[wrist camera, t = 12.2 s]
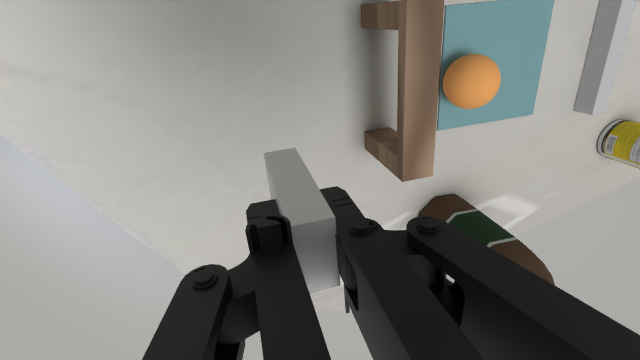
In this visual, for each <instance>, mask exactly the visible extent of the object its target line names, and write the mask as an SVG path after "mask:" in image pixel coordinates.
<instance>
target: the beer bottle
mask: <svg viewBox="0 0 640 360" xmlns="http://www.w3.org/2000/svg"><path fill="white" fill-rule="evenodd" d="M420 216H430V217H435V218H439V219H441V220H443V221H445V222H447V223H449V224H450V225H452V226H454V227H455V228H457V229H459V230H461V231H462V232H464V233H466V234H467V235H469V236H471V237H473V238H474V239H476V240H478V241H479V242H481V243H483V244H485V245H486V246H488V247H490V248H491V249H493V250H495V251H497V252H498V253H500V254H502V255H503V256H505V257H507V258H508V259H510V260H512V261H514V262H515V263H517V264H519V265H520V266H522V267H524V268H526V269H527V270H529V271H531V272H532V273H534V274H536V275H538V276H539V277H541V278H543V279H544V280H546V281H548V282H549V283H551V284H553V285H554V281H553V278H552V275H551V274H550V272H549V271H548V269H547V268H546V266H545V264H544V263H543V262H542V261H541V260H540V259H539V258H538V257H537V256H536V255H535V254H534V253H533V252H532V251H531V250H530V249H528V248H527V247H526V246H525V245H524V244H523V243H522V242H520V241H519V240H518V239H516V238H515V237H514V236H513V235H511V234H510V233H509V232H507V231H506V230H505V229H503V228H502V227H501V226H499V225H498V224H496V223H495V222H494V221H492V220H491V219H490V218H488V217H487V216H486V215H484V214H483V213H481V212H480V211H479V210H477V209H476V208H475V207H473V206H472V205H471V204H469V203H468V202H467V201H465V200H464V199H462V198H460V197H459V196H457V195H456V194H453V195H447V196H441V197H436V198H433V199H432V201H431V202H430V203H429V204H428V205H427V206H426V207H425V208H424V209H423V210H422V211H421V212H420V213H419V217H420Z"/></svg>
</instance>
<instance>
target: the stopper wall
mask: <svg viewBox="0 0 640 360" xmlns="http://www.w3.org/2000/svg"><path fill="white" fill-rule="evenodd" d="M636 1H637V0H600V3H599V7H598V11H597V15H596V19H595V23H594V28H593V32H592V36H591V40H590V44H589V48H588V53H587V57H586V61H585V65H584V69H583V73H582V78H581V82H580V86H579V90H578V94H577V98H576V103H575V107H574V111H578V112H582V113H586V114H590V115H595V114H601V113H605V112H606V108H607V104H608V101H609V97H610V94H611V90H612V87H613V83H614V80H615V76H616V72H617V69H618V65H619V62H620V58H621V55H622V51H623V48H624V44H625V40H626V37H627V33H628V30H629V26H630V23H631V19H632V16H633V12H634V8H635V5H636Z"/></svg>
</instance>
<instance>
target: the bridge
mask: <svg viewBox="0 0 640 360" xmlns="http://www.w3.org/2000/svg"><path fill="white" fill-rule="evenodd" d="M443 12H444V0H400V1H392V2H384V3H375V4H367V5H361V22H362V28H369V29H391V30H399V45H398V110H397V132H396V131H394V130H393V129H391V128H390V127H389V128H383V129H377V130H371V131H365V149H366V150H367V151H368V152H369V153H371V154H372V155H373V156H374V157H375V158H376V159H377V160H378V161H380V162H381V163H382V164H383V165H384V166H385V167H386V168H387V169H389V170H390V171H391V172H392V173H393V174H394V175H395V176H396V177H398V178H399V179H400V180H401V181H402V182H404V181H409V180H414V179H419V178H424V177H429V176H433V164H434V148H435V133H436V118H437V103H438V88H439V72H440V57H441V42H442V27H443Z"/></svg>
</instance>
